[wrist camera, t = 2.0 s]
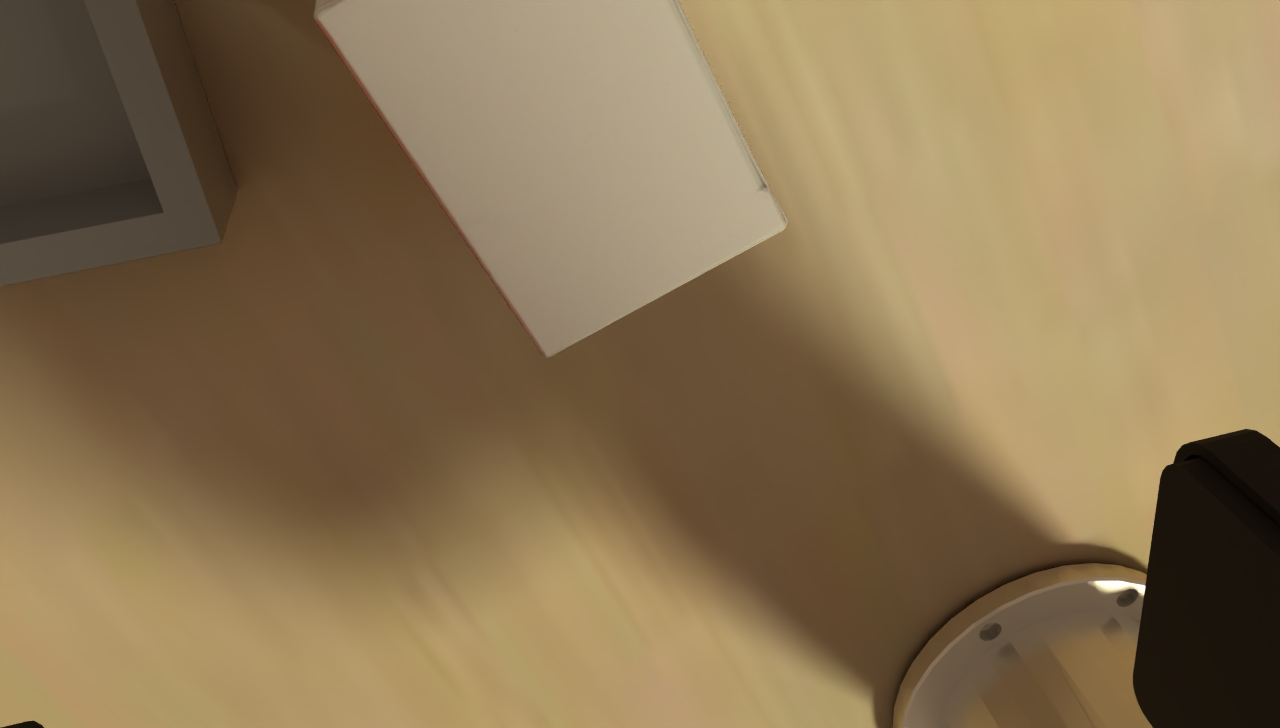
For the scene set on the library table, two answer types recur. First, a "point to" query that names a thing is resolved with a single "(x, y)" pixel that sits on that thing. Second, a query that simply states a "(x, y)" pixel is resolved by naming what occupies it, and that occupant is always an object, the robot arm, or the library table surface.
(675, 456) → the library table surface
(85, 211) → the tray
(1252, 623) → the robot arm
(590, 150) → the small box
